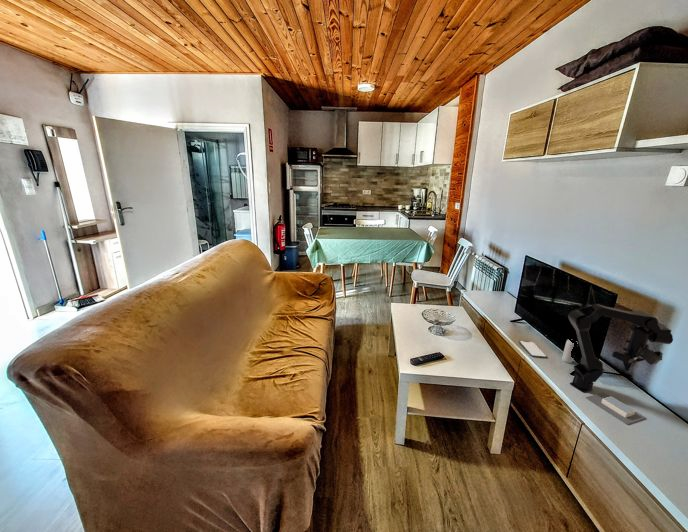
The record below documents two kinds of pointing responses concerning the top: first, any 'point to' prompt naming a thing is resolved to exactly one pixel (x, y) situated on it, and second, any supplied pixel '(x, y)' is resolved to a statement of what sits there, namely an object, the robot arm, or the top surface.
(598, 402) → the mat
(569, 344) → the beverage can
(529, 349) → the phone case
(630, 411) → the block
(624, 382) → the top surface
